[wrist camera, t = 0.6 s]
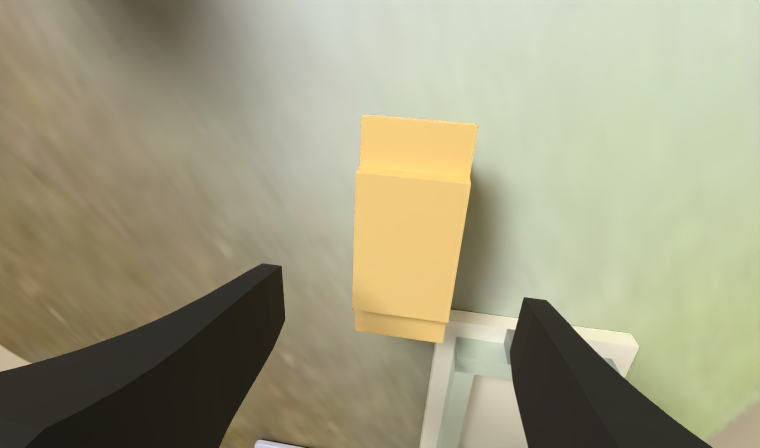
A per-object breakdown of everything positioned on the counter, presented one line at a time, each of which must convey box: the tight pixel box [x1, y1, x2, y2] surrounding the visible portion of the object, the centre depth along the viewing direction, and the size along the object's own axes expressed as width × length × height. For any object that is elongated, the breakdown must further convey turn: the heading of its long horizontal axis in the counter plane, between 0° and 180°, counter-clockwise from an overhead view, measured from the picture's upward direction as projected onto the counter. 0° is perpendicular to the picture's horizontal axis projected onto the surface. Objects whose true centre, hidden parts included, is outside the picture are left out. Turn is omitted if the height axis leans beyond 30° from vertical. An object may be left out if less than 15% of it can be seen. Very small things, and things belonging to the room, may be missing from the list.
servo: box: [352, 114, 478, 344], centre depth 17 cm, size 10×4×5 cm, turn 177°
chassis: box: [419, 309, 639, 448], centre depth 22 cm, size 12×10×2 cm
